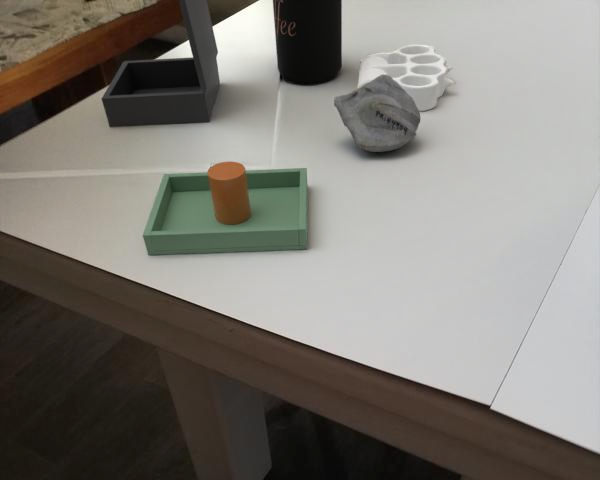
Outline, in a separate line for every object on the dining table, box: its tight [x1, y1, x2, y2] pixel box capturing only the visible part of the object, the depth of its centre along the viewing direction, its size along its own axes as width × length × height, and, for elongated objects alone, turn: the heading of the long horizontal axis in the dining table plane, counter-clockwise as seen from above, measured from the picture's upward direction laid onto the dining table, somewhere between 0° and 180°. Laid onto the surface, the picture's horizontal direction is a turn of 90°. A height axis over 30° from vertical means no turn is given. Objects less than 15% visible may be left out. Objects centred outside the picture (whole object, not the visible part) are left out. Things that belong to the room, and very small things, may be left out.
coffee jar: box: [272, 0, 343, 86], centre depth 92 cm, size 11×11×18 cm
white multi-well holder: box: [356, 43, 456, 112], centre depth 91 cm, size 3×18×15 cm
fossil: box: [333, 75, 421, 153], centre depth 77 cm, size 11×9×8 cm
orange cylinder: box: [207, 161, 251, 225], centre depth 67 cm, size 4×4×6 cm
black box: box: [101, 56, 221, 128], centre depth 90 cm, size 15×15×5 cm
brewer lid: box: [178, 0, 219, 90], centre depth 81 cm, size 16×15×5 cm
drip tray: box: [142, 167, 309, 256], centre depth 68 cm, size 18×14×2 cm
